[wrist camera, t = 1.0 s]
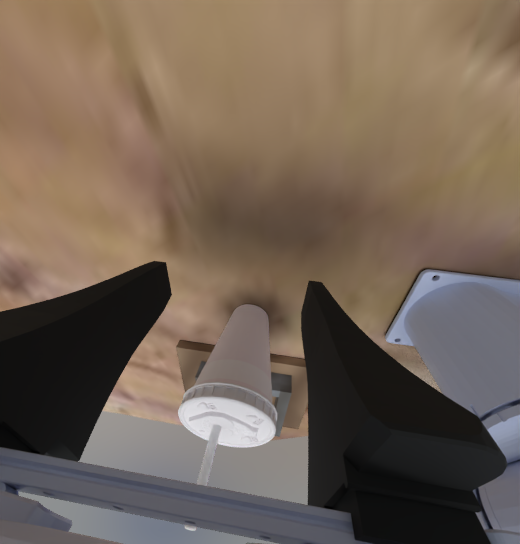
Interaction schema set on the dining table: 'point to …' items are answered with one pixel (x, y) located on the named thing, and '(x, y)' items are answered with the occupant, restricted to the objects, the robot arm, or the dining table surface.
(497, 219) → the dining table surface
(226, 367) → the smoothie
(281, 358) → the bottle stand
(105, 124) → the dining table surface
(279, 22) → the dining table surface
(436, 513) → the robot arm
